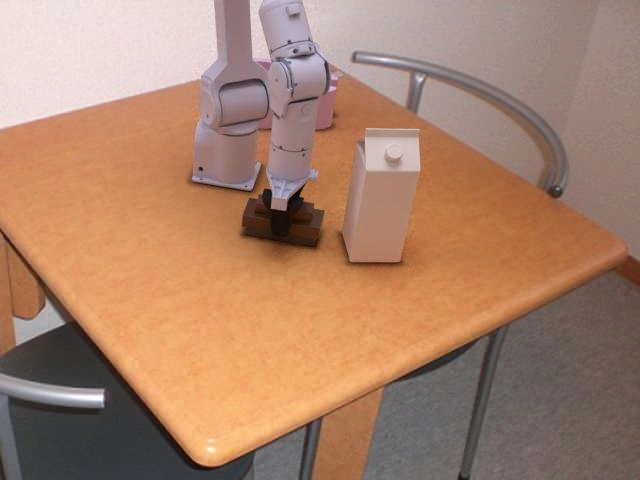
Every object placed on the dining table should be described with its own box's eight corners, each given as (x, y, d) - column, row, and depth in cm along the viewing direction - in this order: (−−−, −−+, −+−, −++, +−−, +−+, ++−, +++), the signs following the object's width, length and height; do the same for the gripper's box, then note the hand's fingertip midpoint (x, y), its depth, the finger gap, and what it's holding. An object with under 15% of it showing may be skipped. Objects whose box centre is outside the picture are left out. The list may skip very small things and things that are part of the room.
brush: (241, 235, 126) (243, 205, 123) (247, 217, 129) (249, 188, 126) (317, 248, 125) (321, 218, 121) (321, 230, 128) (326, 200, 125)
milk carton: (341, 233, 128) (360, 115, 116) (389, 233, 129) (413, 115, 116) (349, 263, 122) (371, 142, 110) (399, 263, 123) (426, 143, 111)
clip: (334, 103, 158) (340, 67, 154) (329, 137, 149) (334, 100, 144) (225, 89, 160) (226, 53, 155) (212, 122, 150) (214, 84, 146)
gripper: (313, 173, 111) (302, 259, 120) (329, 120, 122) (317, 202, 131) (258, 164, 112) (251, 250, 121) (278, 112, 123) (271, 194, 132)
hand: (282, 224), depth 126 cm, fingers closed on brush, 4 cm apart
